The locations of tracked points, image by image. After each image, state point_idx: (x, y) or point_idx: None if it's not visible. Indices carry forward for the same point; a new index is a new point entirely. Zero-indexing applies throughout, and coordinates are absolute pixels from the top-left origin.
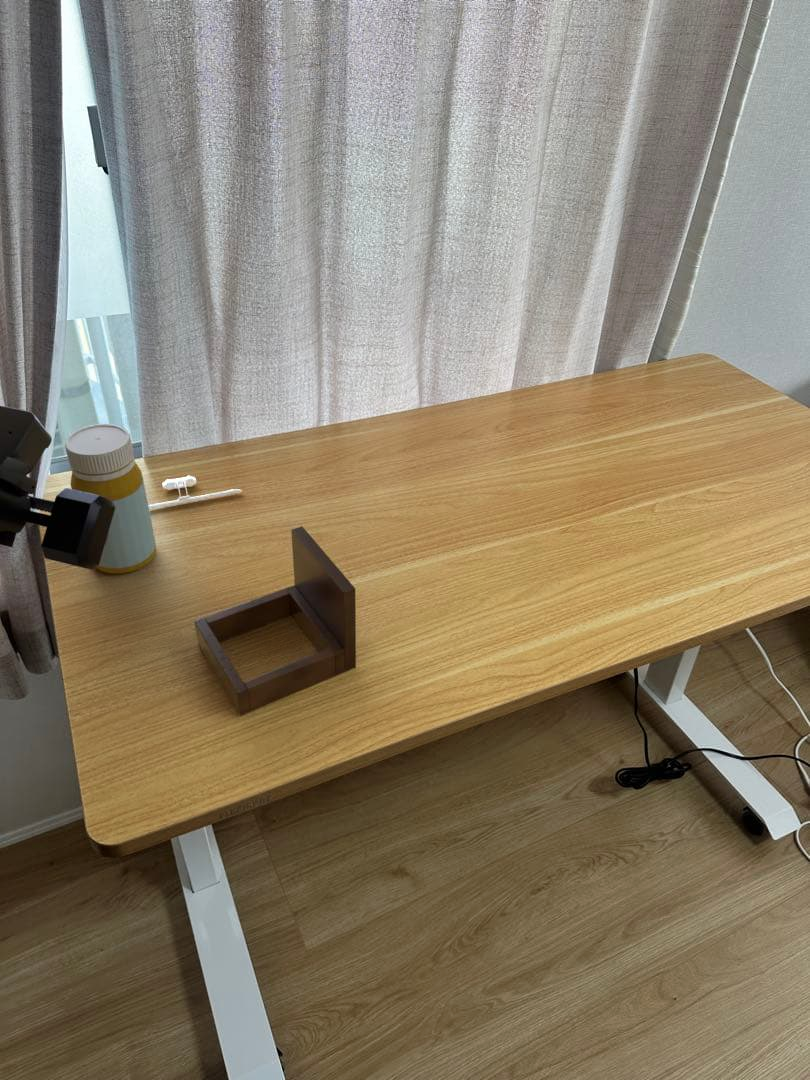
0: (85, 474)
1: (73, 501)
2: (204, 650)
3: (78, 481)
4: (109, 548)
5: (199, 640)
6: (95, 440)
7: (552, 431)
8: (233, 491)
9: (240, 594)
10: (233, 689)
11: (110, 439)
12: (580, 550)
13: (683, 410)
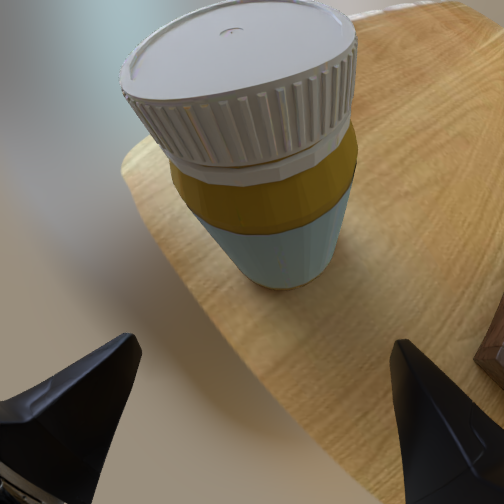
0: (244, 166)
1: None
2: (492, 373)
3: (216, 192)
4: (299, 273)
5: (486, 365)
6: (224, 35)
7: (467, 32)
8: None
9: (470, 254)
10: None
11: (275, 19)
12: None
13: (490, 28)
